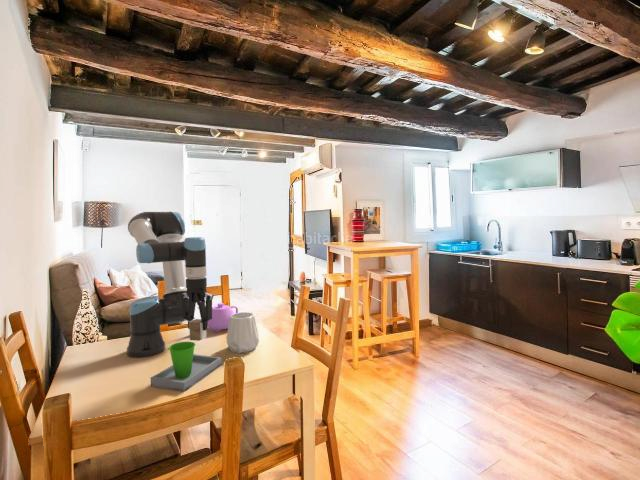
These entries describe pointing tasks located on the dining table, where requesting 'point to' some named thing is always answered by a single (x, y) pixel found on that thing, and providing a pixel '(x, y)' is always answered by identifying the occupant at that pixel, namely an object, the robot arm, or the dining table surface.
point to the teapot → (220, 317)
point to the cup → (182, 358)
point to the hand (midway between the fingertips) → (198, 337)
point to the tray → (199, 371)
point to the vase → (242, 332)
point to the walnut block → (195, 330)
